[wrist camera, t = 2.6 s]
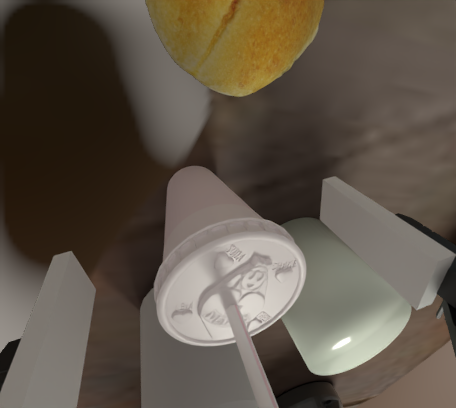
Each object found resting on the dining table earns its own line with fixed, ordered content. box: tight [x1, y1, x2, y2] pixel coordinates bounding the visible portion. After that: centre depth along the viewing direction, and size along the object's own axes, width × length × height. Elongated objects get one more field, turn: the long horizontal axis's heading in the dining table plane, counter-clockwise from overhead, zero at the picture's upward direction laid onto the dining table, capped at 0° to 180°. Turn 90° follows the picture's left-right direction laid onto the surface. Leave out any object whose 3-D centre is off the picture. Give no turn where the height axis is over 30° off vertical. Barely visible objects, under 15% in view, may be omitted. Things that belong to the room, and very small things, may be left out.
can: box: [140, 288, 258, 408], centre depth 18 cm, size 8×8×12 cm
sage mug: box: [280, 217, 411, 375], centre depth 22 cm, size 10×8×9 cm
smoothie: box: [154, 166, 307, 408], centre depth 13 cm, size 6×6×14 cm
